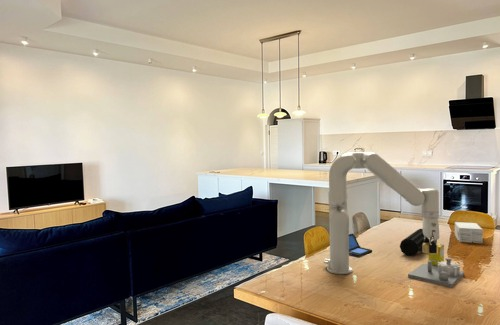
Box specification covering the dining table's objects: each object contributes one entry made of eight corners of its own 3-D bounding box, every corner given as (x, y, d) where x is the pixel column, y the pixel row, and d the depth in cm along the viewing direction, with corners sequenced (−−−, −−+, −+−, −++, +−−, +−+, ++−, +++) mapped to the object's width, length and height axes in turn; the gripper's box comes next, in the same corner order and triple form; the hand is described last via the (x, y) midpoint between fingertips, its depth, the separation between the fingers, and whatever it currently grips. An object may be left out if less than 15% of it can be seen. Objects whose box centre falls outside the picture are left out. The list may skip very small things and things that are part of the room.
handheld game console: (358, 258, 207) (358, 241, 206) (338, 253, 216) (338, 237, 216) (372, 252, 217) (372, 236, 217) (353, 247, 227) (353, 232, 226)
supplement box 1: (432, 262, 196) (432, 242, 195) (444, 265, 191) (444, 244, 191) (427, 265, 191) (428, 244, 191) (440, 268, 187) (440, 247, 186)
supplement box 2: (454, 235, 250) (454, 221, 249) (476, 236, 245) (476, 222, 244) (458, 242, 234) (459, 227, 233) (482, 243, 229) (483, 228, 229)
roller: (416, 237, 240) (421, 223, 238) (431, 244, 234) (436, 230, 232) (397, 251, 211) (402, 236, 208) (414, 259, 205) (420, 244, 203)
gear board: (408, 277, 176) (408, 260, 175) (423, 266, 190) (423, 250, 190) (451, 287, 163) (451, 269, 162) (464, 275, 177) (464, 258, 176)
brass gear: (425, 254, 175) (425, 246, 175) (420, 250, 182) (420, 242, 181) (440, 254, 174) (440, 246, 174) (435, 250, 181) (435, 242, 180)
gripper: (445, 218, 168) (445, 256, 169) (432, 210, 185) (432, 245, 186) (427, 218, 169) (427, 256, 170) (416, 210, 186) (416, 245, 187)
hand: (430, 250), depth 178 cm, fingers closed on brass gear, 6 cm apart
